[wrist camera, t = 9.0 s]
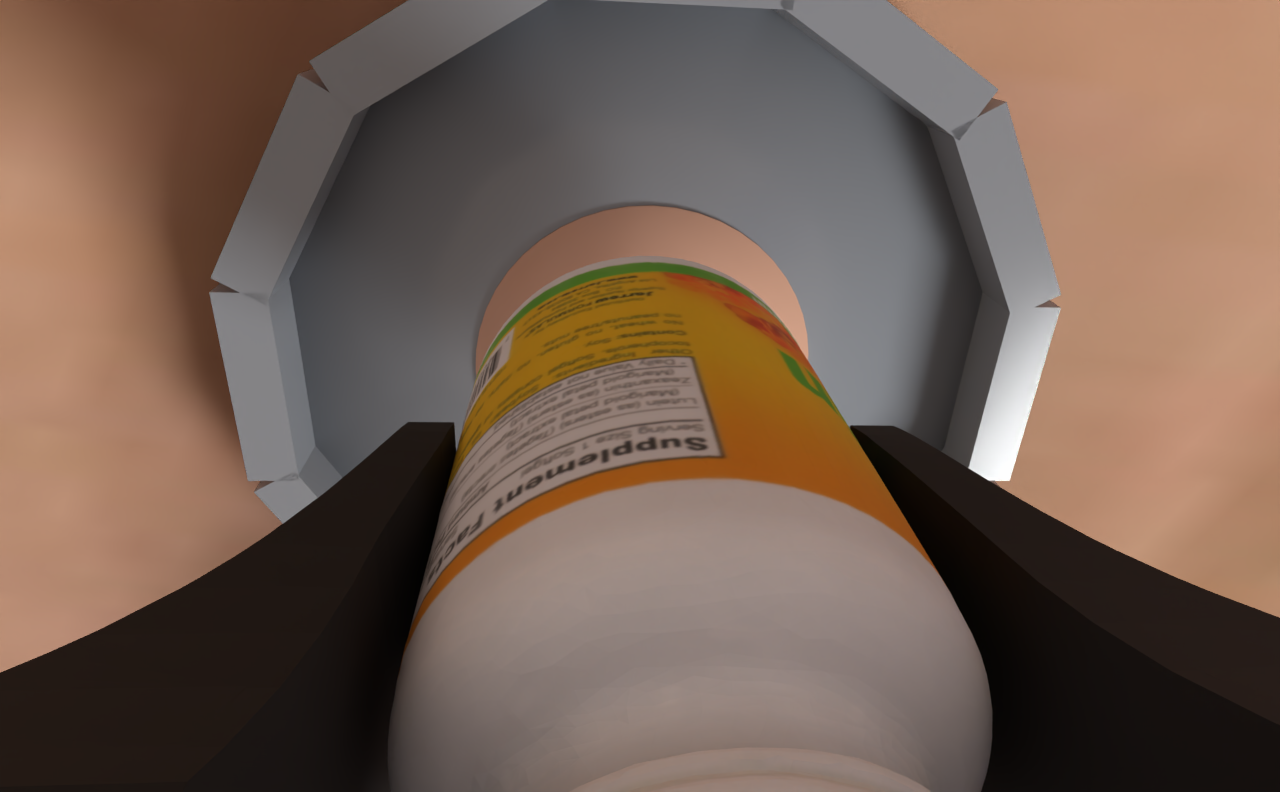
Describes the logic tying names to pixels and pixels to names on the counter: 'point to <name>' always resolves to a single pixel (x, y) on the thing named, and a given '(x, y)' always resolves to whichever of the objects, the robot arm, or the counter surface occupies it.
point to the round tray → (630, 214)
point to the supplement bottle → (675, 569)
